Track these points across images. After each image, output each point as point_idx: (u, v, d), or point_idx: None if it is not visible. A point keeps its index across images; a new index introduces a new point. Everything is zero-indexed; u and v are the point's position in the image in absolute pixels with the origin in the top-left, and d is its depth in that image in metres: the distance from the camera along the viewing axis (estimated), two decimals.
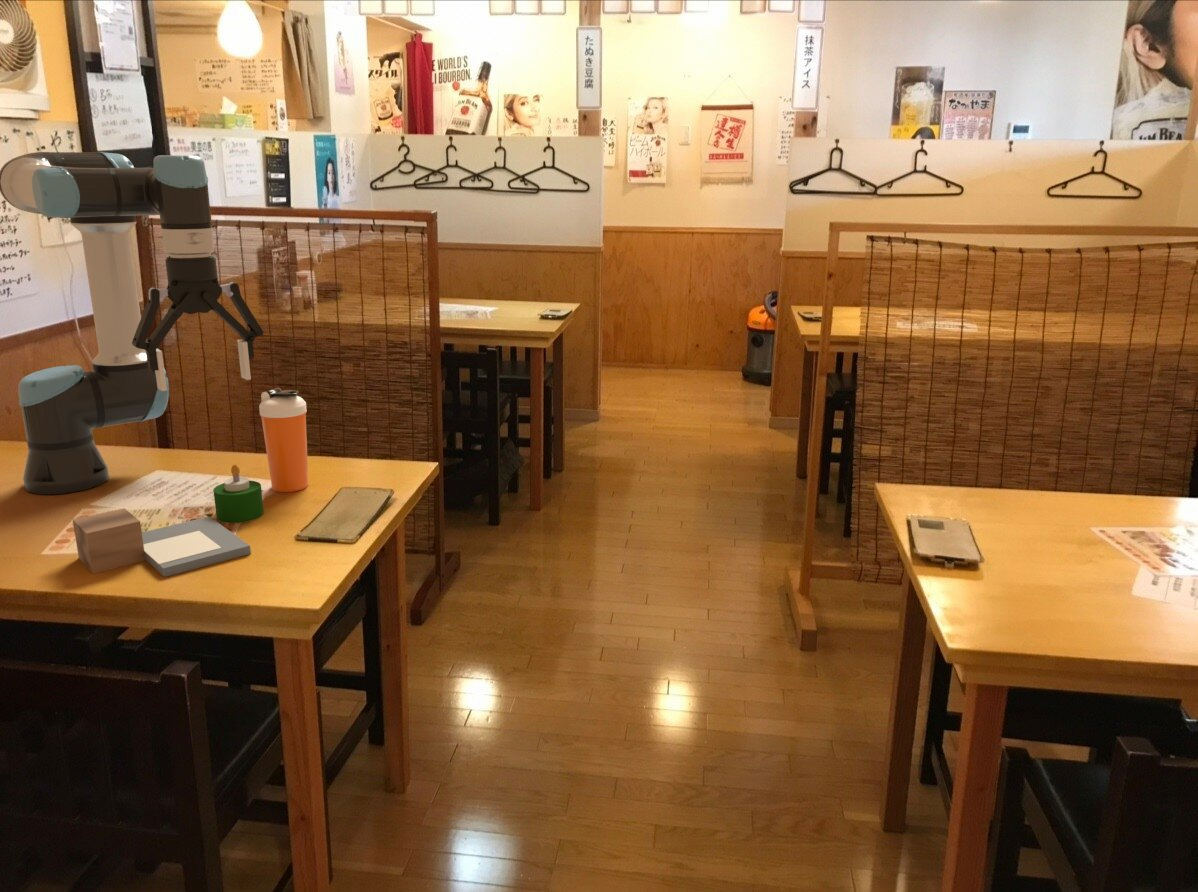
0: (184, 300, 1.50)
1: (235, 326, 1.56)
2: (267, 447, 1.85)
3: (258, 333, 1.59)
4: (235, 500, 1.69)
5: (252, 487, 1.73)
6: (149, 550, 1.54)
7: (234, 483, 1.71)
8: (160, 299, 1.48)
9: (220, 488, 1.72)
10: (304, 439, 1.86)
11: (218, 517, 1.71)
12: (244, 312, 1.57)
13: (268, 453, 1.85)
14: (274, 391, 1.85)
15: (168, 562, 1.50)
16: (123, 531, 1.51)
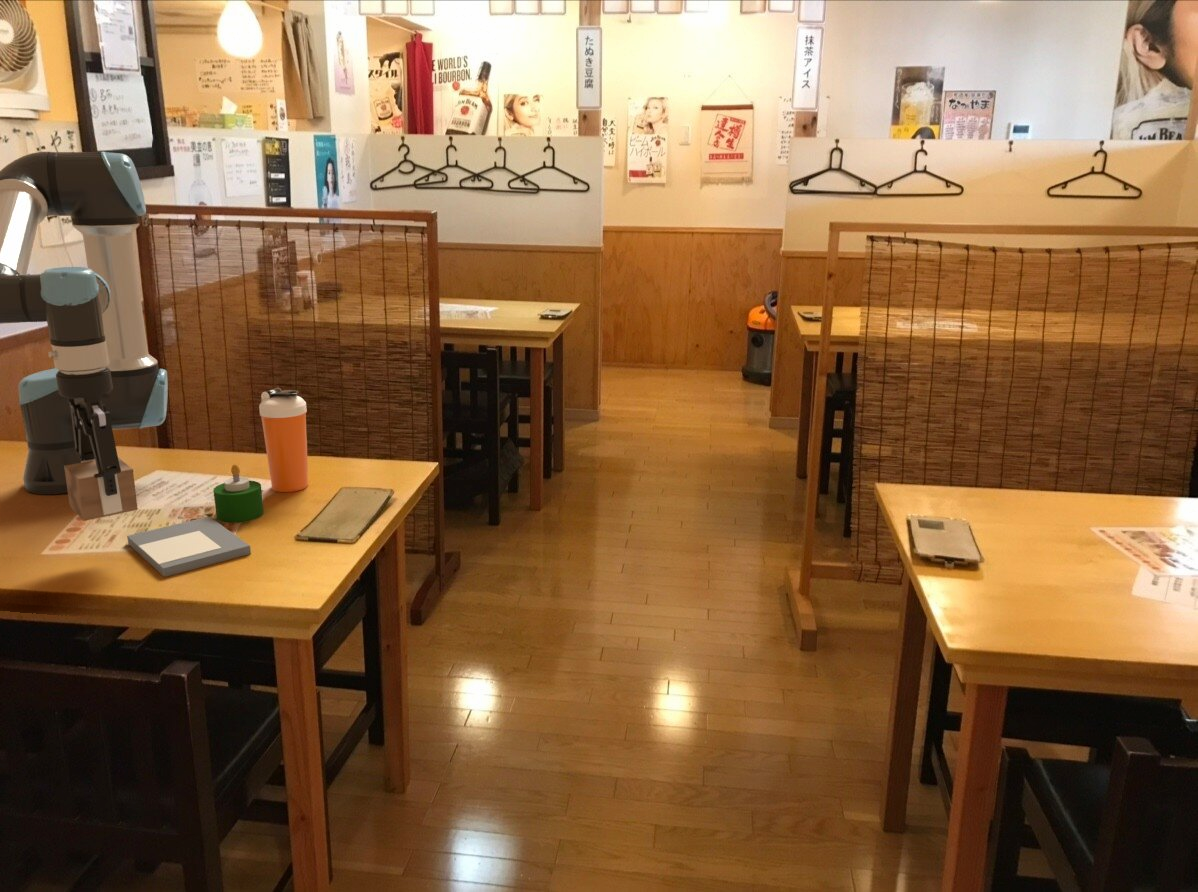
0: (73, 412, 1.48)
1: (94, 455, 1.46)
2: (267, 447, 1.85)
3: None
4: (235, 500, 1.69)
5: (252, 487, 1.73)
6: (149, 550, 1.54)
7: (234, 483, 1.71)
8: (71, 407, 1.50)
9: (221, 488, 1.72)
10: (304, 439, 1.86)
11: (218, 517, 1.71)
12: (96, 445, 1.44)
13: (268, 453, 1.85)
14: (274, 391, 1.85)
15: (168, 562, 1.50)
16: None
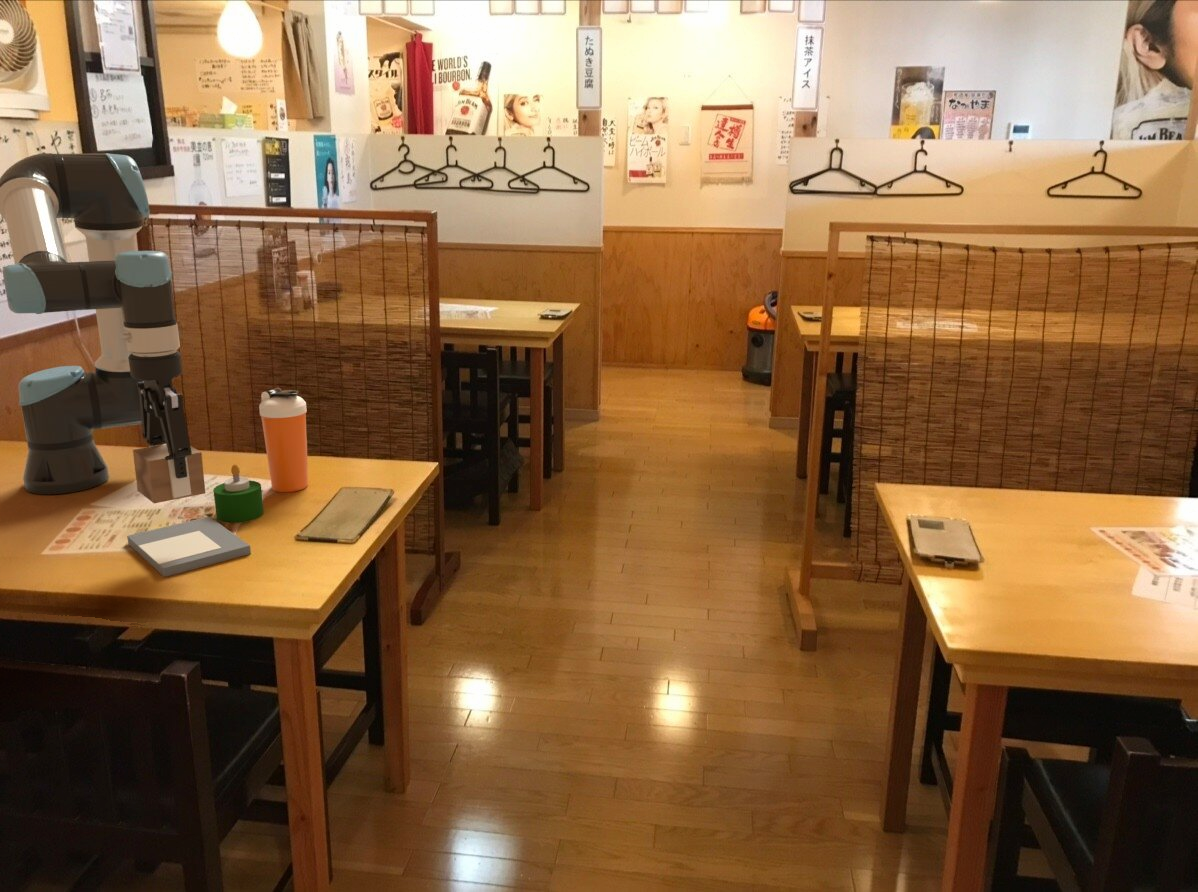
0: (143, 395, 1.48)
1: (165, 437, 1.46)
2: (267, 447, 1.85)
3: (173, 454, 1.45)
4: (235, 500, 1.69)
5: (252, 487, 1.73)
6: (149, 550, 1.54)
7: (234, 483, 1.71)
8: (141, 392, 1.51)
9: (221, 488, 1.72)
10: (304, 439, 1.86)
11: (218, 517, 1.71)
12: (168, 427, 1.44)
13: (268, 453, 1.85)
14: (274, 391, 1.85)
15: (168, 562, 1.50)
16: None
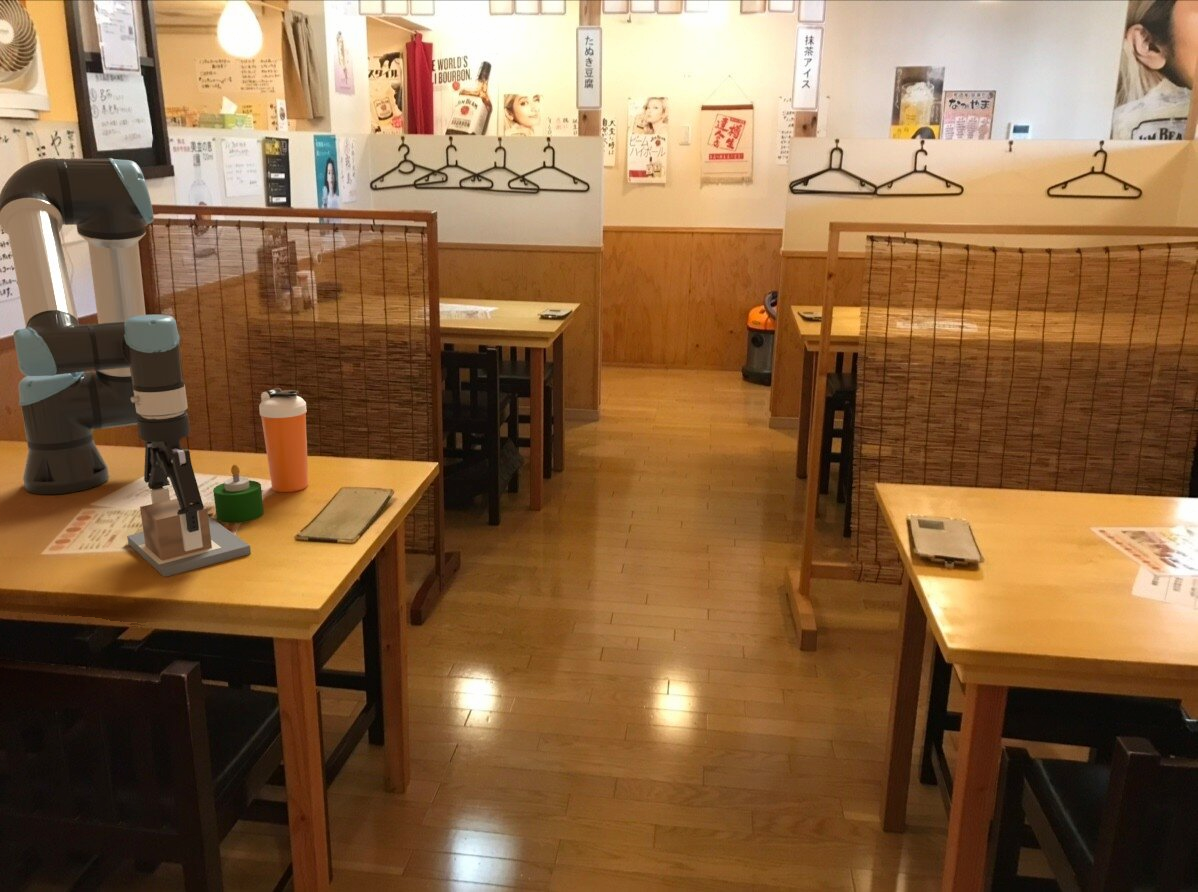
0: (151, 453, 1.51)
1: (176, 494, 1.48)
2: (267, 447, 1.85)
3: None
4: (235, 500, 1.69)
5: (252, 487, 1.73)
6: (149, 550, 1.54)
7: (234, 483, 1.71)
8: (147, 445, 1.54)
9: (221, 488, 1.72)
10: (304, 439, 1.86)
11: (218, 517, 1.71)
12: (178, 483, 1.46)
13: (268, 453, 1.85)
14: (274, 391, 1.85)
15: (168, 562, 1.50)
16: None
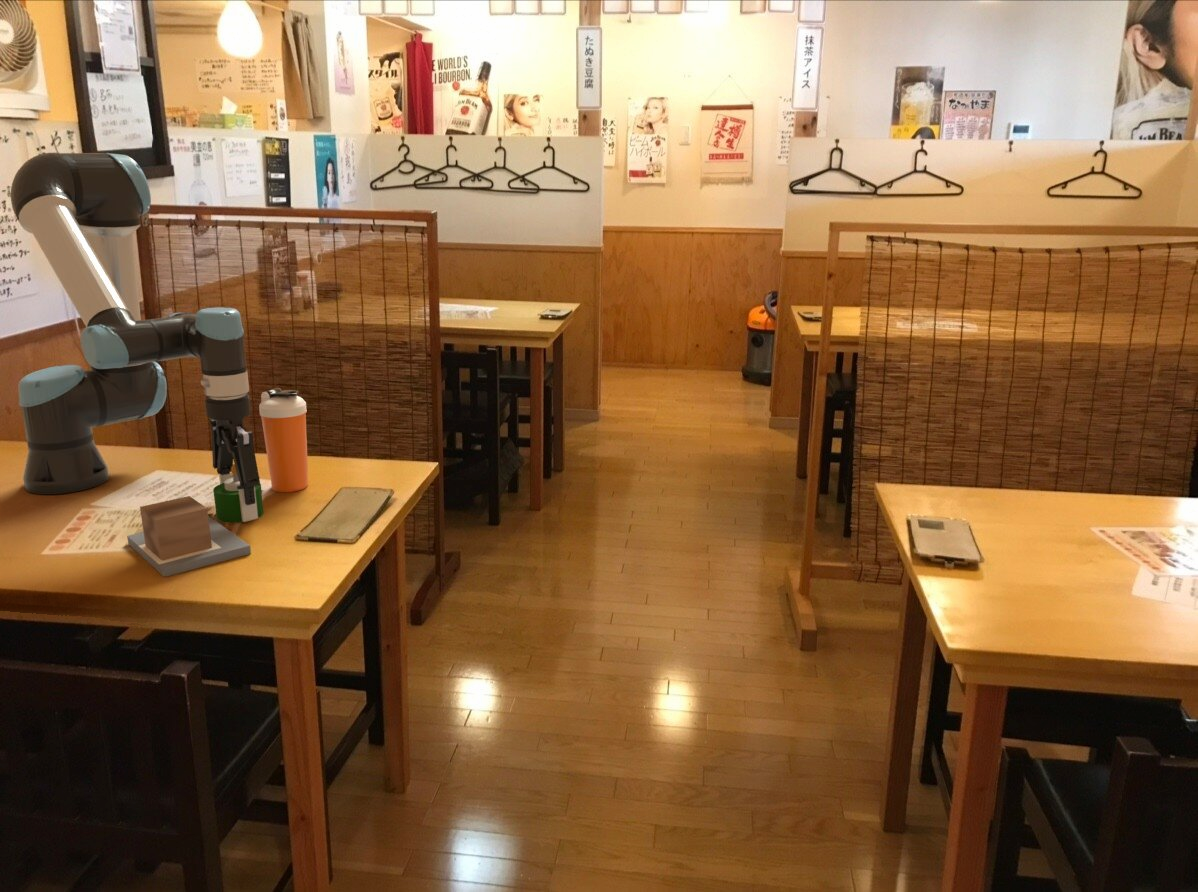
0: (216, 432, 1.70)
1: (236, 469, 1.68)
2: (267, 447, 1.85)
3: (244, 484, 1.66)
4: (235, 500, 1.69)
5: None
6: (149, 550, 1.54)
7: (234, 482, 1.71)
8: (213, 428, 1.73)
9: (220, 488, 1.72)
10: (304, 439, 1.86)
11: (218, 517, 1.71)
12: (240, 461, 1.66)
13: (268, 453, 1.85)
14: (274, 391, 1.85)
15: (168, 562, 1.50)
16: (190, 518, 1.52)
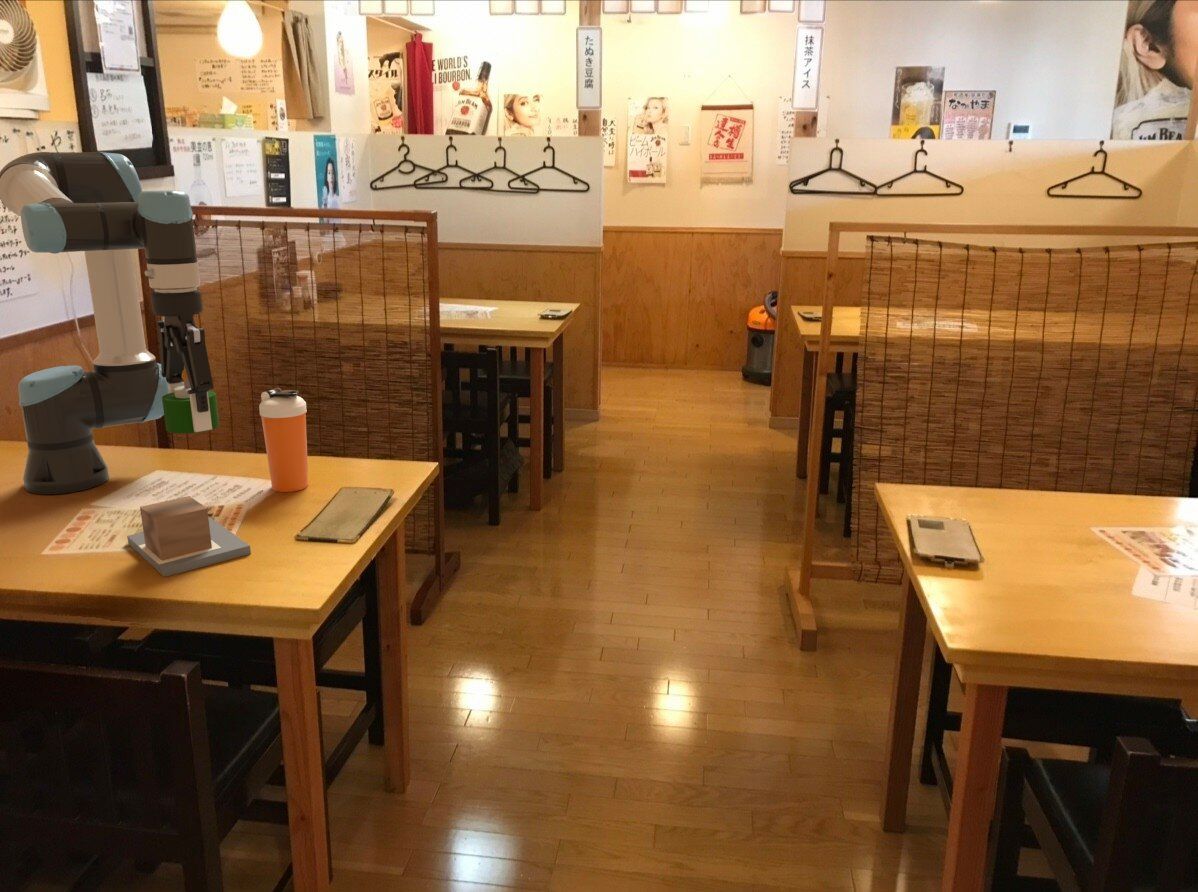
0: (164, 333, 1.53)
1: (187, 372, 1.51)
2: (267, 447, 1.85)
3: (195, 387, 1.49)
4: (186, 407, 1.52)
5: None
6: (149, 550, 1.54)
7: (186, 389, 1.54)
8: (161, 330, 1.55)
9: (170, 396, 1.55)
10: (304, 439, 1.86)
11: (168, 427, 1.54)
12: (190, 361, 1.49)
13: (268, 453, 1.85)
14: (274, 391, 1.85)
15: (168, 562, 1.50)
16: (190, 518, 1.52)
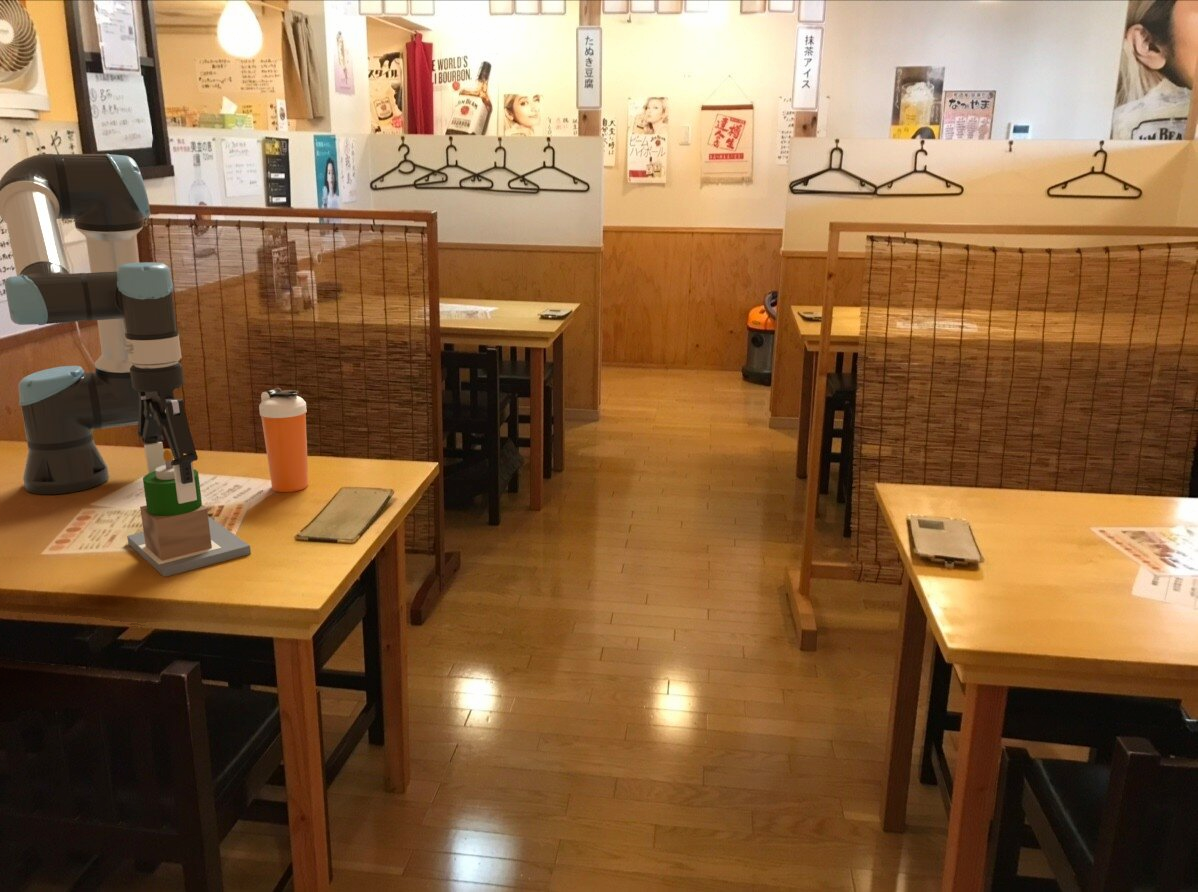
0: (144, 405, 1.49)
1: (169, 445, 1.45)
2: (267, 447, 1.85)
3: (179, 460, 1.43)
4: (167, 490, 1.49)
5: None
6: (149, 550, 1.54)
7: (167, 470, 1.51)
8: (141, 398, 1.52)
9: (151, 476, 1.51)
10: (304, 439, 1.86)
11: (148, 509, 1.51)
12: (171, 433, 1.44)
13: (268, 453, 1.85)
14: (274, 391, 1.85)
15: (168, 562, 1.50)
16: (190, 518, 1.52)
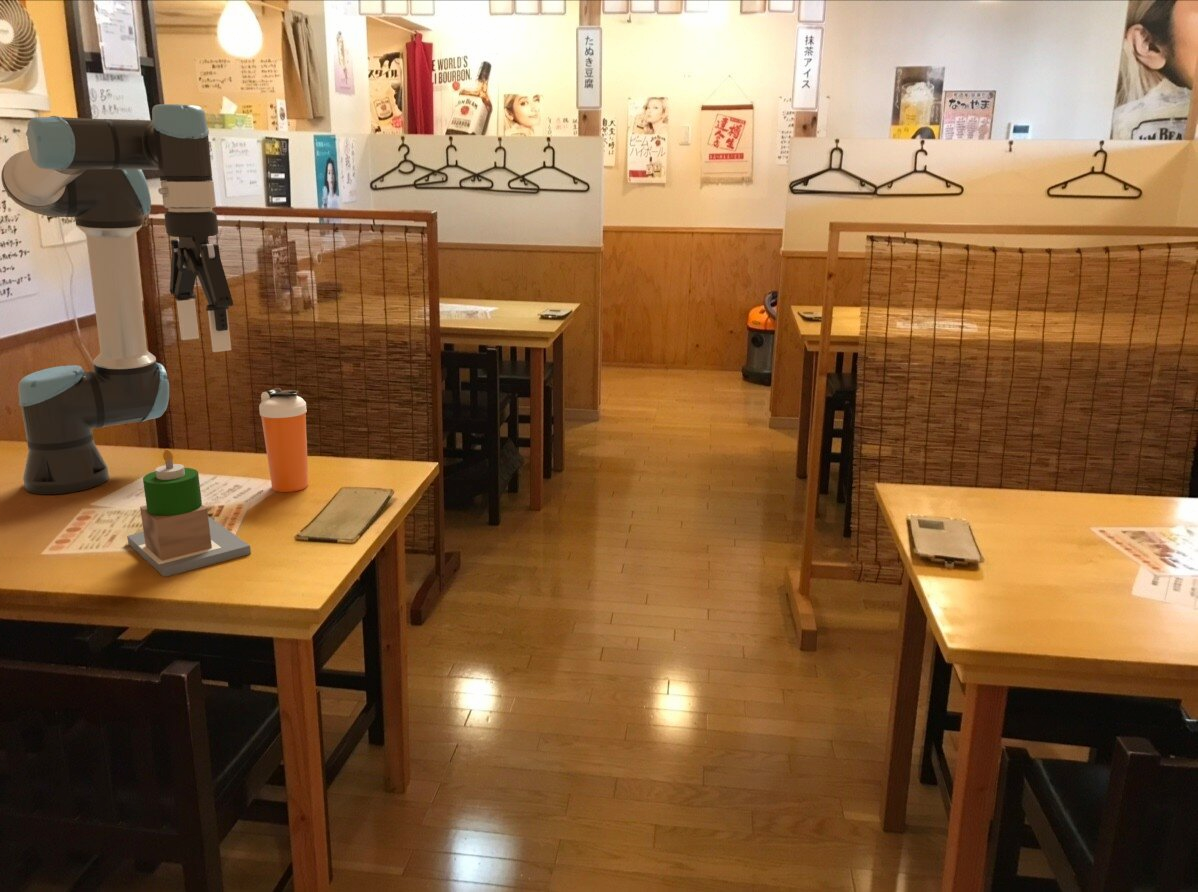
0: (178, 254, 1.48)
1: (204, 291, 1.44)
2: (267, 447, 1.85)
3: (214, 304, 1.42)
4: (167, 490, 1.49)
5: (188, 475, 1.52)
6: (149, 550, 1.54)
7: (167, 470, 1.51)
8: (174, 250, 1.50)
9: (151, 476, 1.51)
10: (304, 439, 1.86)
11: (148, 509, 1.51)
12: (207, 278, 1.42)
13: (268, 453, 1.85)
14: (274, 391, 1.85)
15: (168, 562, 1.50)
16: (190, 518, 1.52)
